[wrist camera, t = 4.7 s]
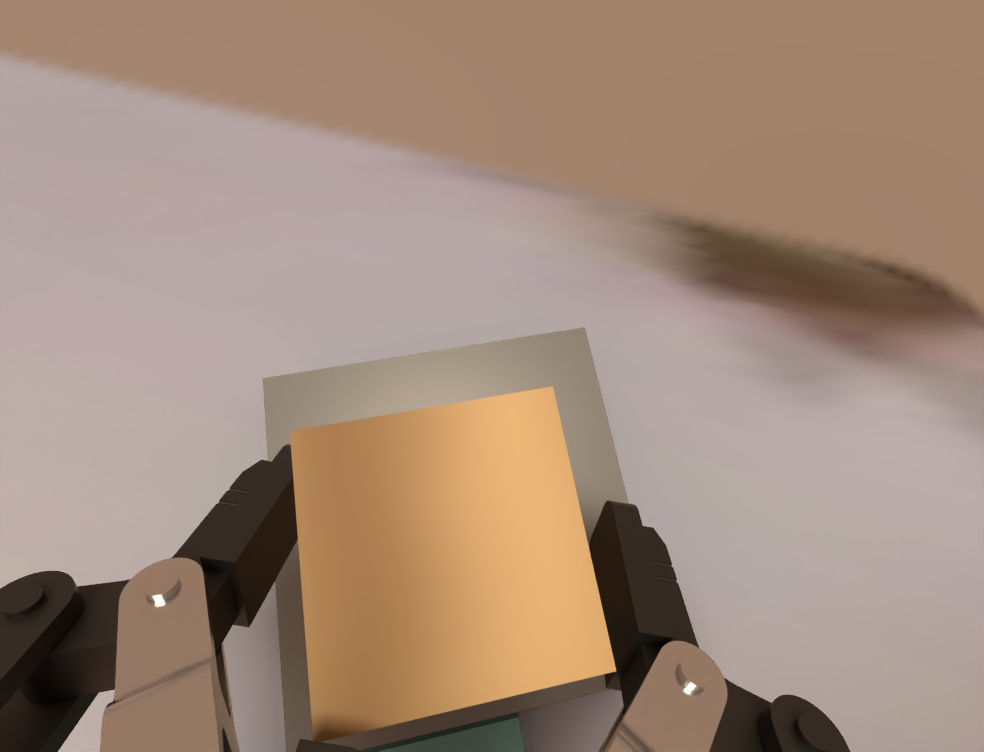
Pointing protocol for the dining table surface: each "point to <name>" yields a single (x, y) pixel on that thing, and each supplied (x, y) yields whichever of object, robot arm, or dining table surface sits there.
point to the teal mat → (465, 738)
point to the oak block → (442, 562)
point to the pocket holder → (425, 386)
